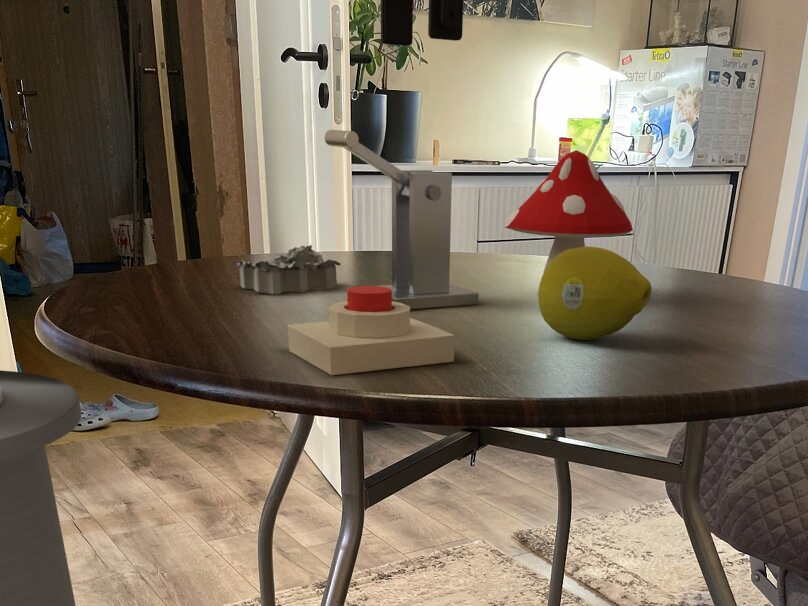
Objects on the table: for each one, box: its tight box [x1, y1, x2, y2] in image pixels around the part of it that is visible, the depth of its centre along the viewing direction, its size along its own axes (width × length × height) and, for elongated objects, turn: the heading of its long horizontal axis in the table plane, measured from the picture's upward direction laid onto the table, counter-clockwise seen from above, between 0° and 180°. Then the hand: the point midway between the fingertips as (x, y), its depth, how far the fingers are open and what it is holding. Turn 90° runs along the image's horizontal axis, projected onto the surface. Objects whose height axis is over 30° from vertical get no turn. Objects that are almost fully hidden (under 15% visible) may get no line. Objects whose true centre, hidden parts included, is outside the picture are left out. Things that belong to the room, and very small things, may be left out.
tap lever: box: [324, 129, 414, 200], centre depth 91 cm, size 12×5×2 cm, turn 120°
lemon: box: [537, 245, 652, 341], centre depth 82 cm, size 11×8×8 cm
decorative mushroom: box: [504, 149, 634, 274], centre depth 101 cm, size 14×14×15 cm
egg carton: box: [233, 244, 342, 295], centre depth 104 cm, size 11×8×4 cm
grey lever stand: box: [379, 169, 480, 311], centre depth 96 cm, size 10×8×13 cm
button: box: [346, 285, 392, 312], centre depth 74 cm, size 4×4×2 cm
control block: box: [287, 300, 456, 376], centre depth 75 cm, size 11×9×4 cm
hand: (419, 42), depth 85 cm, fingers open, 9 cm apart
